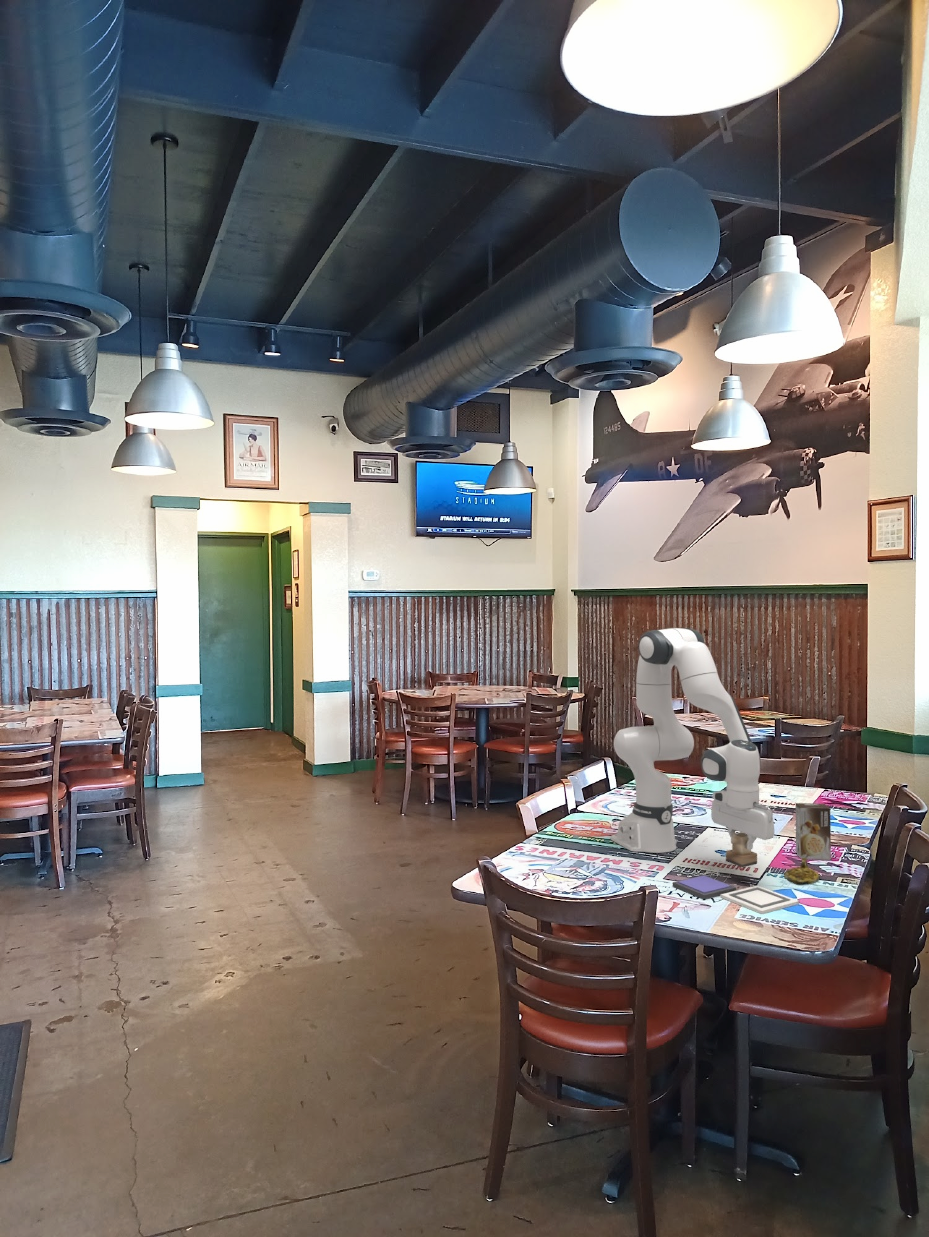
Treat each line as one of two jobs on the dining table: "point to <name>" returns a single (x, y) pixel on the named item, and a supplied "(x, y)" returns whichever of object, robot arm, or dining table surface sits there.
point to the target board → (759, 899)
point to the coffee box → (813, 831)
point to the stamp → (740, 851)
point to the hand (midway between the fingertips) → (741, 846)
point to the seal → (802, 874)
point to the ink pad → (704, 887)
